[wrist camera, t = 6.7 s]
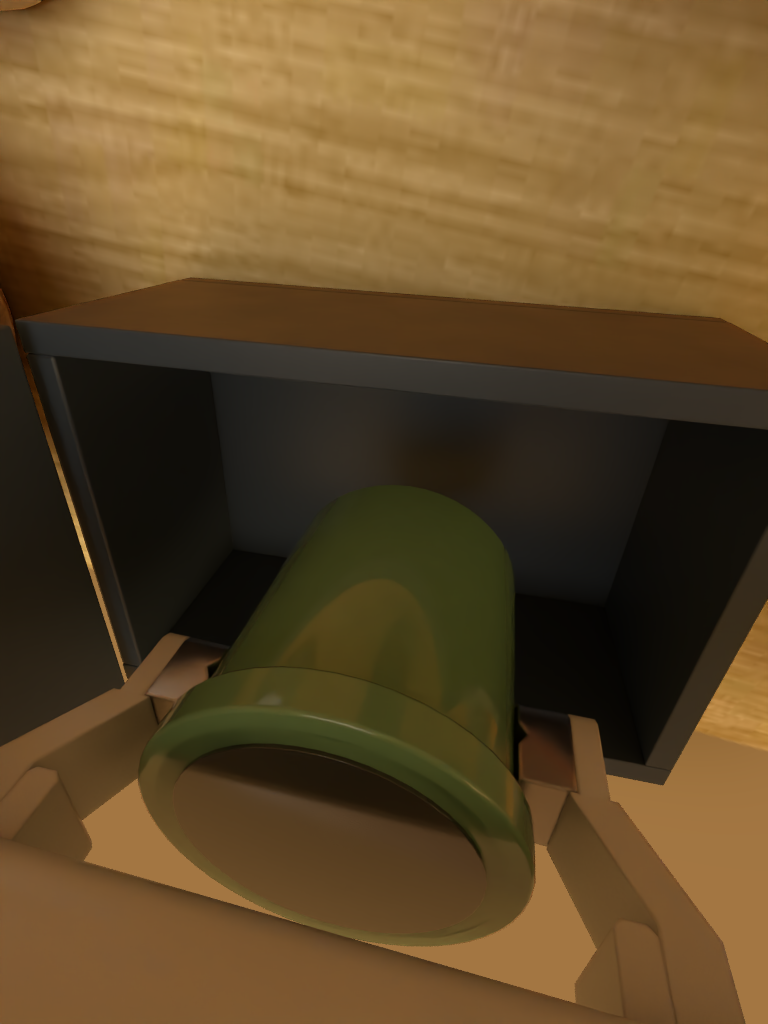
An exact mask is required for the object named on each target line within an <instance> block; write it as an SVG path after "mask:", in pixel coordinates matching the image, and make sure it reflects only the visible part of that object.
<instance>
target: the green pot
mask: <svg viewBox="0 0 768 1024" xmlns="http://www.w3.org/2000/svg"><path fill="white" fill-rule="evenodd" d="M138 785H139V789H140V793H141V797H142V800H143V802H144V804H145V806H146V808H147V811H148V813H149V814H150V816H151V817H152V819H153V821H154V822H155V824H156V825H157V827H158V828H159V829H160V830H161V832H162V833H163V834H164V835H165V837H166V838H167V839H168V840H169V841H170V842H171V843H172V844H173V845H174V846H175V847H176V848H177V849H178V851H180V853H182V854H183V855H184V856H185V857H186V858H187V859H189V860H190V861H191V862H192V863H193V864H194V865H195V866H197V867H198V868H199V869H201V870H202V871H203V872H205V873H206V874H207V875H209V876H210V877H211V878H213V879H214V880H216V881H217V882H219V883H221V884H222V885H223V886H225V887H226V888H228V889H230V890H231V891H233V892H235V893H237V894H238V895H240V896H242V897H243V898H245V899H247V900H249V901H251V902H253V903H255V904H257V905H259V906H261V907H263V908H265V909H267V910H269V911H272V912H274V913H276V914H278V915H281V916H283V917H285V918H288V919H290V920H293V921H296V922H298V923H301V924H304V925H306V926H310V927H313V928H317V929H320V930H324V931H327V932H330V933H334V934H337V935H341V936H344V937H348V938H353V939H358V940H363V941H369V942H375V943H382V944H389V945H401V946H442V945H453V944H459V943H465V942H470V941H474V940H477V939H481V938H484V937H487V936H489V935H492V934H494V933H496V932H498V931H501V930H502V929H504V928H505V927H507V926H508V925H510V924H511V923H513V922H514V921H515V920H516V919H517V918H518V916H520V915H521V914H522V913H523V912H524V910H525V908H526V906H527V905H528V903H529V901H530V899H531V897H532V893H533V889H534V886H535V846H534V822H533V818H532V814H531V810H530V806H529V804H528V802H527V800H526V798H525V795H524V793H523V791H522V789H521V787H520V785H519V783H518V782H517V781H516V779H515V576H514V571H513V566H512V563H511V561H510V558H509V555H508V553H507V551H506V549H505V547H504V546H503V544H502V542H501V540H500V539H499V538H498V536H497V535H496V534H495V533H494V531H493V530H492V529H491V528H490V527H489V526H488V525H487V524H486V523H485V522H484V521H483V520H482V519H481V518H480V517H479V516H478V515H476V514H475V513H474V512H472V511H471V510H470V509H468V508H467V507H465V506H463V505H462V504H460V503H458V502H457V501H455V500H453V499H451V498H448V497H446V496H444V495H442V494H439V493H436V492H433V491H430V490H427V489H422V488H417V487H412V486H403V485H378V486H372V487H365V488H362V489H358V490H355V491H351V492H349V493H347V494H344V495H342V496H340V497H338V498H336V499H335V500H333V501H332V502H330V503H328V504H327V505H326V506H325V507H324V508H322V509H321V510H320V511H319V512H318V513H317V514H316V515H315V517H314V518H313V519H312V520H311V521H310V523H309V524H308V526H307V528H306V529H305V531H304V532H303V534H302V535H301V537H300V539H299V540H298V542H297V543H296V545H295V546H294V548H293V550H292V551H291V553H290V554H289V556H288V557H287V559H286V561H285V562H284V564H283V565H282V567H281V568H280V570H279V572H278V573H277V575H276V576H275V578H274V579H273V581H272V583H271V584H270V586H269V587H268V589H267V590H266V592H265V594H264V595H263V597H262V598H261V600H260V601H259V603H258V605H257V606H256V608H255V609H254V611H253V612H252V614H251V616H250V617H249V619H248V620H247V622H246V623H245V625H244V627H243V628H242V630H241V631H240V633H239V634H238V636H237V638H236V639H235V641H234V642H233V644H232V645H231V647H230V649H229V650H228V652H227V653H226V655H225V656H224V658H223V660H222V661H221V663H220V664H219V666H218V667H217V669H216V670H215V672H214V674H213V675H212V677H211V678H209V679H207V680H205V681H203V682H201V683H199V684H197V685H195V686H194V687H192V688H191V689H189V690H188V691H187V692H185V693H184V694H183V695H181V696H180V697H179V698H178V699H177V700H176V702H175V703H174V704H173V705H172V706H171V708H170V709H169V710H168V712H167V713H166V715H165V716H164V718H163V719H162V721H161V722H160V723H159V725H158V726H157V728H156V729H155V731H154V732H153V734H152V735H151V737H150V738H149V740H148V741H147V743H146V745H145V747H144V749H143V751H142V753H141V757H140V762H139V767H138Z"/></svg>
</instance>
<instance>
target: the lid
mask: <svg viewBox="0 0 768 1024" xmlns="http://www.w3.org/2000/svg"><path fill="white" fill-rule="evenodd" d="M124 684H125V682H124V680H123V676H122V673H121V670H120V667H119V664H118V660H117V657H116V654H115V651H114V648H113V645H112V642H111V639H110V636H109V632H108V629H107V626H106V623H105V620H104V617H103V614H102V611H101V608H100V604H99V602H98V598H97V595H96V592H95V589H94V586H93V583H92V579H91V576H90V573H89V570H88V567H87V564H86V561H85V557H84V554H83V551H82V548H81V545H80V542H79V539H78V536H77V533H76V529H75V526H74V523H73V520H72V517H71V514H70V511H69V508H68V504H67V501H66V498H65V495H64V492H63V489H62V486H61V483H60V480H59V476H58V473H57V470H56V467H55V464H54V461H53V458H52V455H51V451H50V448H49V445H48V442H47V439H46V436H45V433H44V430H43V427H42V423H41V420H40V417H39V414H38V411H37V408H36V405H35V402H34V398H33V395H32V392H31V389H30V386H29V383H28V380H27V377H26V374H25V370H24V367H23V364H22V361H21V358H20V355H19V352H18V349H17V345H16V342H15V339H14V336H13V333H12V330H11V328H10V326H8V325H1V324H0V747H1V746H3V745H5V744H7V743H9V742H10V741H12V740H14V739H16V738H18V737H20V736H22V735H24V734H26V733H28V732H30V731H32V730H34V729H36V728H38V727H40V726H42V725H43V724H45V723H47V722H49V721H51V720H53V719H55V718H57V717H59V716H61V715H63V714H65V713H67V712H69V711H71V710H73V709H74V708H76V707H78V706H80V705H82V704H84V703H86V702H88V701H90V700H92V699H94V698H96V697H98V696H100V695H102V694H104V693H105V692H107V691H109V690H111V689H113V688H115V689H121V688H122V686H123V685H124Z"/></svg>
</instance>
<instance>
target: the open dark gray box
mask: <svg viewBox="0 0 768 1024" xmlns="http://www.w3.org/2000/svg"><path fill="white" fill-rule="evenodd" d="M15 323H16V327H17V330H18V333H19V336H20V339H21V343H22V346H23V349H24V351H25V352H26V353H28V354H27V359H28V362H29V365H30V368H31V371H32V375H33V378H34V381H35V384H36V387H37V391H38V394H39V397H40V400H41V403H42V406H43V410H44V413H45V416H46V419H47V422H48V426H49V429H50V432H51V435H52V438H53V441H54V445H55V448H56V451H57V454H58V457H59V461H60V464H61V467H62V470H63V473H64V477H65V480H66V483H67V486H68V489H69V492H70V496H71V499H72V502H73V505H74V508H75V512H76V515H77V518H78V521H79V524H80V527H81V531H82V534H83V537H84V540H85V543H86V547H87V550H88V553H89V556H90V559H91V563H92V566H93V569H94V572H95V575H96V578H97V582H98V585H99V588H100V591H101V594H102V598H103V601H104V604H105V607H106V610H107V613H108V617H109V620H110V623H111V626H112V629H113V633H114V636H115V639H116V642H117V645H118V649H119V652H120V655H121V658H122V661H123V666H124V670H125V673H126V676H127V678H128V679H129V678H130V677H131V675H132V674H133V673H134V672H135V670H136V669H137V668H138V667H139V665H140V664H141V663H142V662H143V661H144V659H145V658H146V657H147V656H148V654H149V653H150V652H151V651H152V650H153V648H154V647H155V646H156V645H157V643H158V642H159V641H160V640H161V638H162V637H164V636H165V635H167V634H169V633H175V634H179V635H184V636H188V637H193V638H198V639H202V640H206V641H210V642H215V643H219V644H223V645H228V646H231V645H232V644H233V642H234V641H235V639H236V638H237V636H238V634H239V633H240V631H241V630H242V628H243V627H244V625H245V623H246V622H247V620H248V619H249V617H250V616H251V614H252V612H253V611H254V609H255V608H256V606H257V605H258V603H259V601H260V600H261V598H262V597H263V595H264V594H265V592H266V590H267V589H268V587H269V586H270V584H271V583H272V581H273V579H274V578H275V576H276V575H277V573H278V572H279V570H280V568H281V567H282V565H283V564H284V562H285V561H286V559H287V557H288V556H289V554H290V553H291V551H292V550H293V548H294V546H295V545H296V543H297V542H298V540H299V539H300V537H301V535H302V534H303V532H304V531H305V529H306V528H307V526H308V524H309V523H310V521H311V520H312V519H313V518H314V517H315V515H316V514H317V513H318V512H319V511H320V510H321V509H322V508H324V507H325V506H326V505H327V504H328V503H330V502H332V501H333V500H335V499H336V498H338V497H340V496H342V495H344V494H347V493H349V492H351V491H355V490H358V489H362V488H365V487H372V486H378V485H403V486H412V487H417V488H422V489H427V490H430V491H433V492H436V493H439V494H442V495H444V496H446V497H448V498H451V499H453V500H455V501H457V502H458V503H460V504H462V505H463V506H465V507H467V508H468V509H470V510H471V511H472V512H474V513H475V514H476V515H478V516H479V517H480V518H481V519H482V520H483V521H484V522H485V523H486V524H487V525H488V526H489V527H490V528H491V529H492V530H493V531H494V533H495V534H496V535H497V536H498V538H499V539H500V540H501V542H502V544H503V546H504V547H505V549H506V551H507V553H508V555H509V558H510V561H511V563H512V566H513V571H514V576H515V706H516V704H520V705H526V706H531V707H536V708H541V709H547V710H552V711H557V712H562V713H567V715H568V714H570V715H575V716H580V717H585V718H590V719H595V721H596V722H597V724H598V728H599V734H600V740H601V747H602V753H603V759H604V765H605V771H606V774H608V775H613V776H618V777H623V778H628V779H633V780H638V781H643V782H648V783H653V784H658V785H664V783H665V781H666V780H667V778H668V776H669V774H670V773H671V770H672V769H673V767H674V765H675V763H676V762H677V760H678V758H679V756H680V755H681V753H682V751H683V749H684V747H685V745H686V744H687V742H688V740H689V738H690V736H691V735H692V733H693V731H694V730H695V728H696V726H697V724H698V722H699V721H700V719H701V717H702V715H703V713H704V712H705V710H706V708H707V706H708V705H709V703H710V701H711V699H712V697H713V696H714V694H715V692H716V690H717V688H718V687H719V685H720V683H721V681H722V680H723V678H724V676H725V674H726V672H727V671H728V669H729V667H730V665H731V663H732V662H733V660H734V658H735V656H736V655H737V653H738V651H739V649H740V647H741V646H742V644H743V642H744V640H745V638H746V637H747V635H748V633H749V631H750V630H751V628H752V626H753V624H754V622H755V621H756V619H757V617H758V615H759V613H760V612H761V610H762V608H763V606H764V604H765V603H766V601H767V599H768V343H767V342H765V341H763V340H762V339H760V338H758V337H756V336H754V335H752V334H750V333H748V332H746V331H744V330H743V329H741V328H739V327H737V326H735V325H733V324H731V323H728V322H726V321H724V320H722V319H720V318H710V317H697V316H684V315H671V314H658V313H645V312H632V311H619V310H606V309H593V308H580V307H567V306H554V305H541V304H527V303H514V302H501V301H488V300H475V299H462V298H449V297H436V296H423V295H410V294H397V293H384V292H371V291H358V290H345V289H332V288H319V287H306V286H293V285H280V284H266V283H253V282H240V281H227V280H214V279H201V278H187V279H183V280H177V281H173V282H169V283H165V284H161V285H156V286H152V287H148V288H144V289H140V290H136V291H132V292H127V293H123V294H119V295H115V296H111V297H107V298H102V299H98V300H94V301H90V302H86V303H82V304H78V305H73V306H69V307H65V308H61V309H57V310H53V311H48V312H44V313H40V314H36V315H32V316H28V317H24V318H19V319H16V320H15Z"/></svg>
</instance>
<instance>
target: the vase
mask: <svg viewBox="0 0 768 1024" xmlns="http://www.w3.org/2000/svg"><path fill="white" fill-rule="evenodd" d="M0 324H1V325H8V326H10V328H11V330H12V333H13V336H14V339H15V342H16V336H15V330H14V324H13V319H12V315H11V312H10V309H9V305H8V303H7V301H6V298H5V296H4V294H3V291H2V289H1V288H0ZM16 345H17V342H16Z"/></svg>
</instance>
